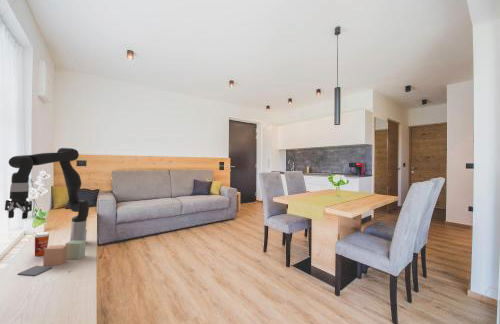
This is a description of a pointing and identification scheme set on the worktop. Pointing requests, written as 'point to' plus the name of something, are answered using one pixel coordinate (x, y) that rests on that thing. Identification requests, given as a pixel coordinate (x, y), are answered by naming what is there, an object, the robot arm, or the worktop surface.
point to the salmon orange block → (55, 255)
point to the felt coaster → (34, 270)
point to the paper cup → (41, 243)
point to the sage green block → (75, 249)
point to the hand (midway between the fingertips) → (17, 218)
